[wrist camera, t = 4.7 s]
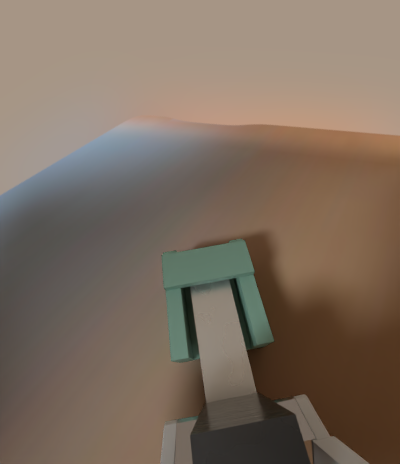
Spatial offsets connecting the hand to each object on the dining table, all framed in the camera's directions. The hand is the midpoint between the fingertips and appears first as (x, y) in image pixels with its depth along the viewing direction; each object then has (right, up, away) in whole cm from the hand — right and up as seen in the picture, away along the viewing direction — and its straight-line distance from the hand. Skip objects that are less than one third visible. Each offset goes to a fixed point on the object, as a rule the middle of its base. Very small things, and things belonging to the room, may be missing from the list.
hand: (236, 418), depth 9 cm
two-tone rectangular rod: (0, -1, +5) cm, 5 cm away
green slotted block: (-1, +2, +8) cm, 8 cm away
